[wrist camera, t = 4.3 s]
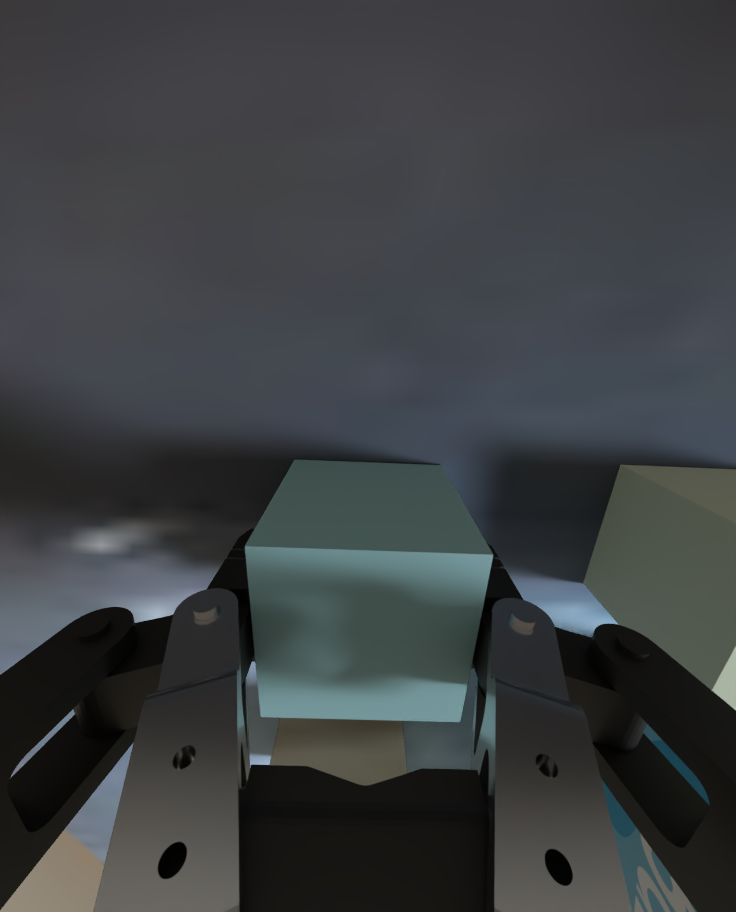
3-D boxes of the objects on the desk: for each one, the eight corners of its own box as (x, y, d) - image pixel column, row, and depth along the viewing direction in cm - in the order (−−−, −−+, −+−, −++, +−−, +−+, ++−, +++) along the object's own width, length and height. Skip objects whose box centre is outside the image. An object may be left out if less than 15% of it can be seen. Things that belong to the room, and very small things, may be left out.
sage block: (619, 463, 12) (787, 550, 7) (760, 469, 12) (1021, 558, 7) (582, 581, 13) (698, 715, 9) (705, 586, 14) (887, 720, 9)
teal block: (294, 459, 11) (244, 546, 7) (441, 465, 12) (493, 554, 7) (298, 580, 13) (260, 716, 8) (426, 584, 13) (460, 721, 9)
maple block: (287, 683, 15) (252, 839, 11) (399, 686, 15) (413, 843, 11) (291, 755, 17) (262, 917, 12) (391, 758, 17) (401, 920, 12)
